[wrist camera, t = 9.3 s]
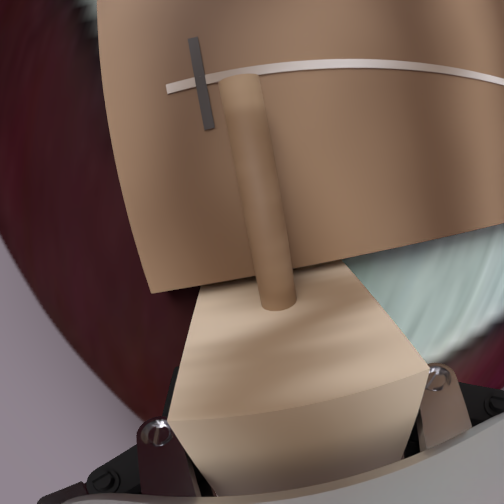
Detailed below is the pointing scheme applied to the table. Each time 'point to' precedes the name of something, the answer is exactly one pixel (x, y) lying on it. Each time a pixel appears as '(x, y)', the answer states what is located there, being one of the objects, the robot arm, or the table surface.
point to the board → (304, 125)
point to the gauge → (288, 351)
